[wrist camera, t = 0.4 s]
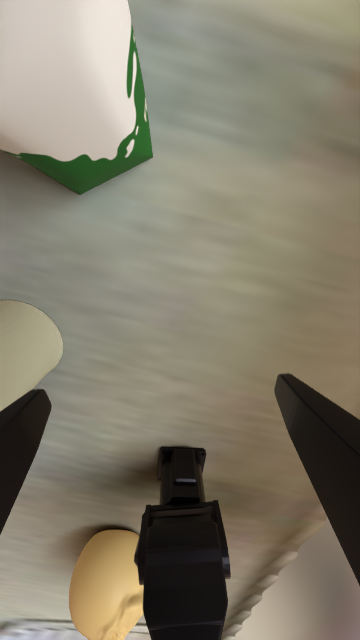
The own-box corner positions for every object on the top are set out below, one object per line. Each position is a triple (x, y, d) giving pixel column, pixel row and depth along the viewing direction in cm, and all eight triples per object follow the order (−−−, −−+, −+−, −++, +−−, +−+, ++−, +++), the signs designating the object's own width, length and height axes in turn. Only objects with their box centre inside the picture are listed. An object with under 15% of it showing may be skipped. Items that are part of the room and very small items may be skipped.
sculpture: (133, 561, 41) (120, 665, 31) (73, 545, 39) (39, 653, 29) (164, 531, 38) (162, 637, 28) (102, 510, 35) (74, 620, 25)
